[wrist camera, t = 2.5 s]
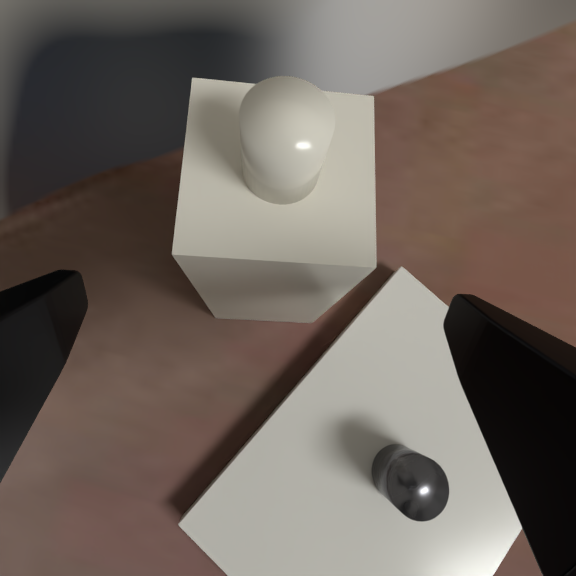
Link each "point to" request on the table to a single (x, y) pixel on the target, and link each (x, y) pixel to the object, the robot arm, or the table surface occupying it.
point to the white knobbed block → (276, 197)
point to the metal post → (411, 482)
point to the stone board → (361, 461)
